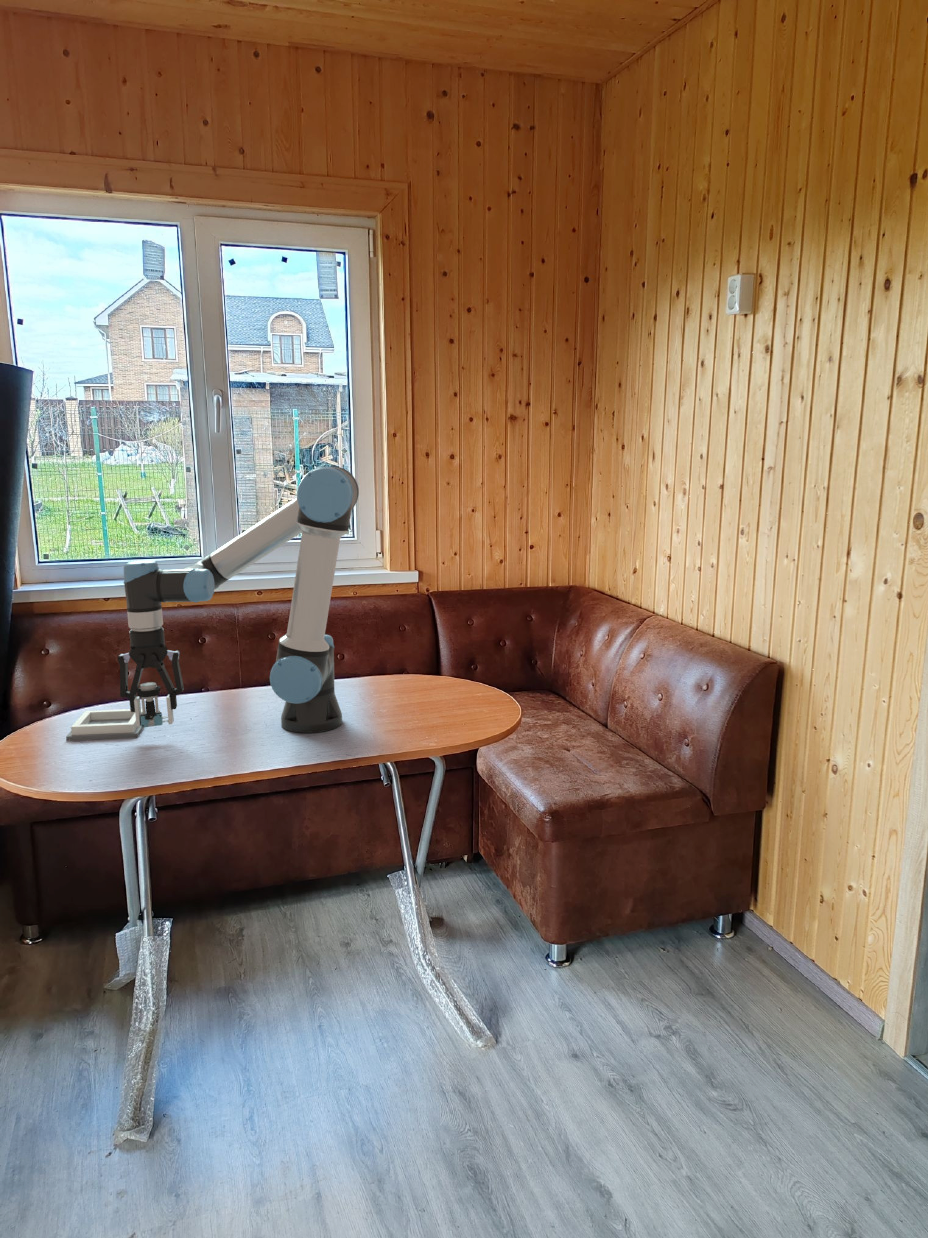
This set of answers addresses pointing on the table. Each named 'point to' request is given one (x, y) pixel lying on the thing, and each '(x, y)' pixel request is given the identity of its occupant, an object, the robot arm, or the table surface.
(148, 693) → the push button
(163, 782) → the table surface
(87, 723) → the socket plate
